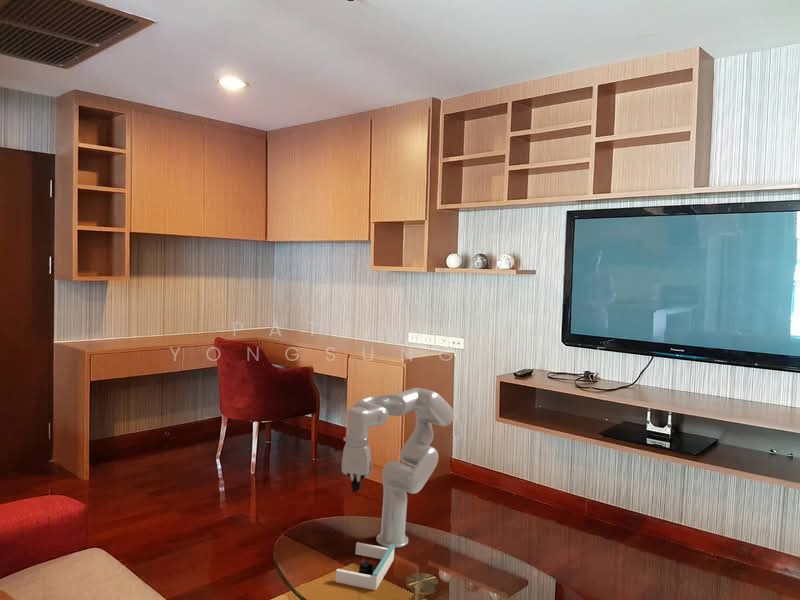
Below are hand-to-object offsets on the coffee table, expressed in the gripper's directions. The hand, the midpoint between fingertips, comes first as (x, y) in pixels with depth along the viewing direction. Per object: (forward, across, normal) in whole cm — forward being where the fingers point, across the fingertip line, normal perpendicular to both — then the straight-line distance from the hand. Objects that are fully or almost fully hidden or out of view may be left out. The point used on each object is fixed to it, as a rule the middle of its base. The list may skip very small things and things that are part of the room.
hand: (356, 490), depth 226 cm
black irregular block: (+26, +8, -10) cm, 29 cm away
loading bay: (+26, +8, -7) cm, 28 cm away
